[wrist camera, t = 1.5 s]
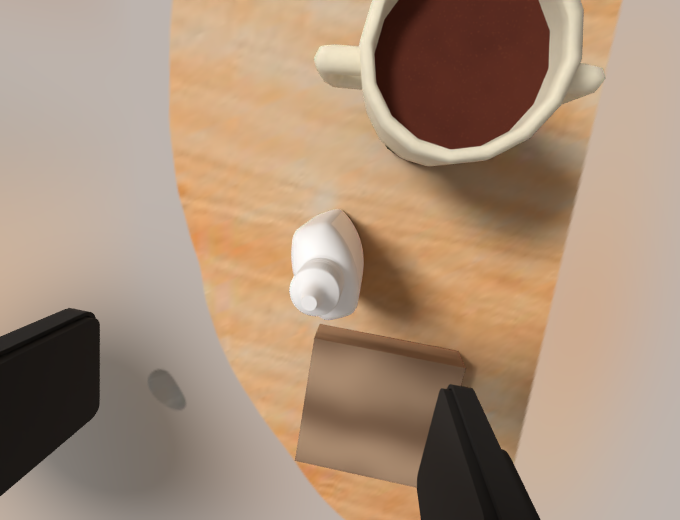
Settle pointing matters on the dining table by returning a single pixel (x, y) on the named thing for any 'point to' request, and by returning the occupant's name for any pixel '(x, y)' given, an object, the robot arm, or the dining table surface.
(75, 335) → the robot arm
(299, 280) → the eye dropper bottle
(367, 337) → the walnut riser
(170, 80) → the dining table surface
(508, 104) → the character mug
